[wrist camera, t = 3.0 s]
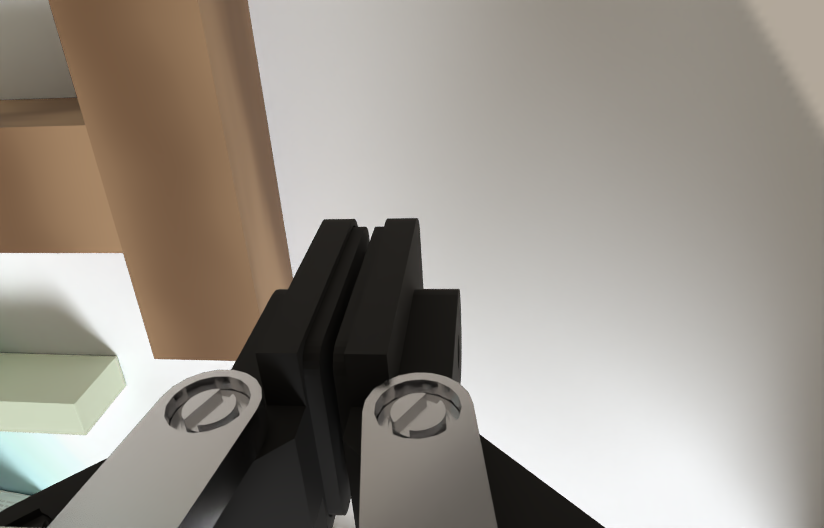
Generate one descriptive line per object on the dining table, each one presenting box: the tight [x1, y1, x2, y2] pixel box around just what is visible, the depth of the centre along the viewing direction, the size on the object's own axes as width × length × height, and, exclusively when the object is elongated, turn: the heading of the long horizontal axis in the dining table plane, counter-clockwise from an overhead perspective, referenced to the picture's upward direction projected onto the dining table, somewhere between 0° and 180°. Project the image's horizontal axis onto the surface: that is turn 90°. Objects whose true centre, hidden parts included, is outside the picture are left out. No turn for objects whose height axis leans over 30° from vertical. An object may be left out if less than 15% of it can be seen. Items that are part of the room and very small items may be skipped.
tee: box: [0, 0, 293, 361], centre depth 21 cm, size 11×12×4 cm
